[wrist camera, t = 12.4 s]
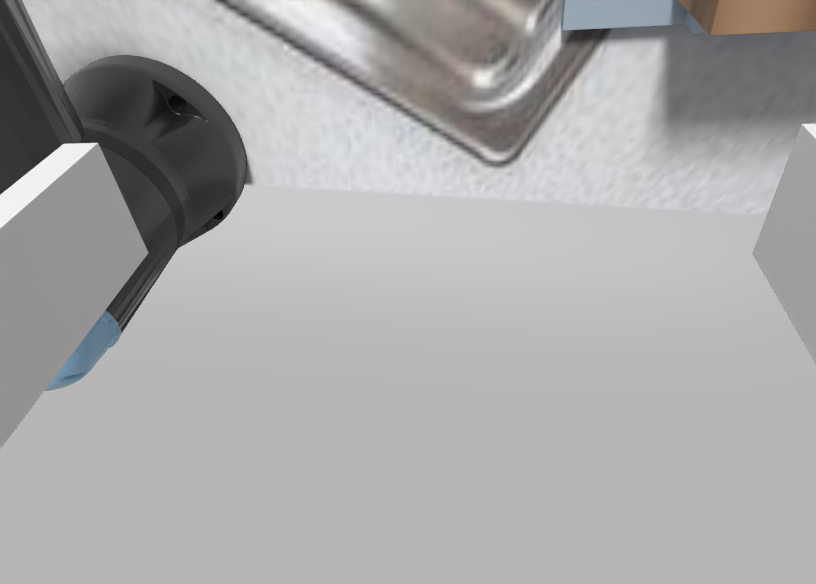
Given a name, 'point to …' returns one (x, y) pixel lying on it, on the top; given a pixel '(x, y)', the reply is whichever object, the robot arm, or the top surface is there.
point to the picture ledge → (626, 14)
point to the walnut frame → (752, 15)
